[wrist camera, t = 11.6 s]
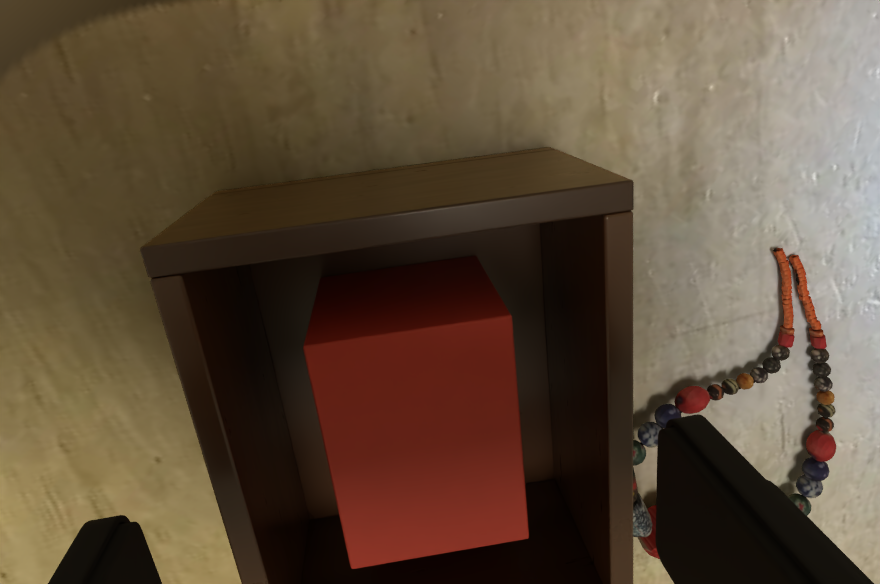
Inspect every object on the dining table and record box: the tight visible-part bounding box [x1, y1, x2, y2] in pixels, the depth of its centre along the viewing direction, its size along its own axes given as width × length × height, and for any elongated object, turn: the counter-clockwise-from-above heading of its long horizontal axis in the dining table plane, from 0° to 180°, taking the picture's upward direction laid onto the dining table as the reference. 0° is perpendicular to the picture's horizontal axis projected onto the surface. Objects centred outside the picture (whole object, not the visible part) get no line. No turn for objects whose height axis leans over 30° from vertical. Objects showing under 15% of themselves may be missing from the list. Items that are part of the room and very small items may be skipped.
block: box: [303, 256, 529, 569], centre depth 16 cm, size 6×4×4 cm
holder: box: [140, 147, 633, 584], centre depth 16 cm, size 11×9×6 cm
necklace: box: [633, 248, 836, 559], centre depth 20 cm, size 8×11×2 cm
